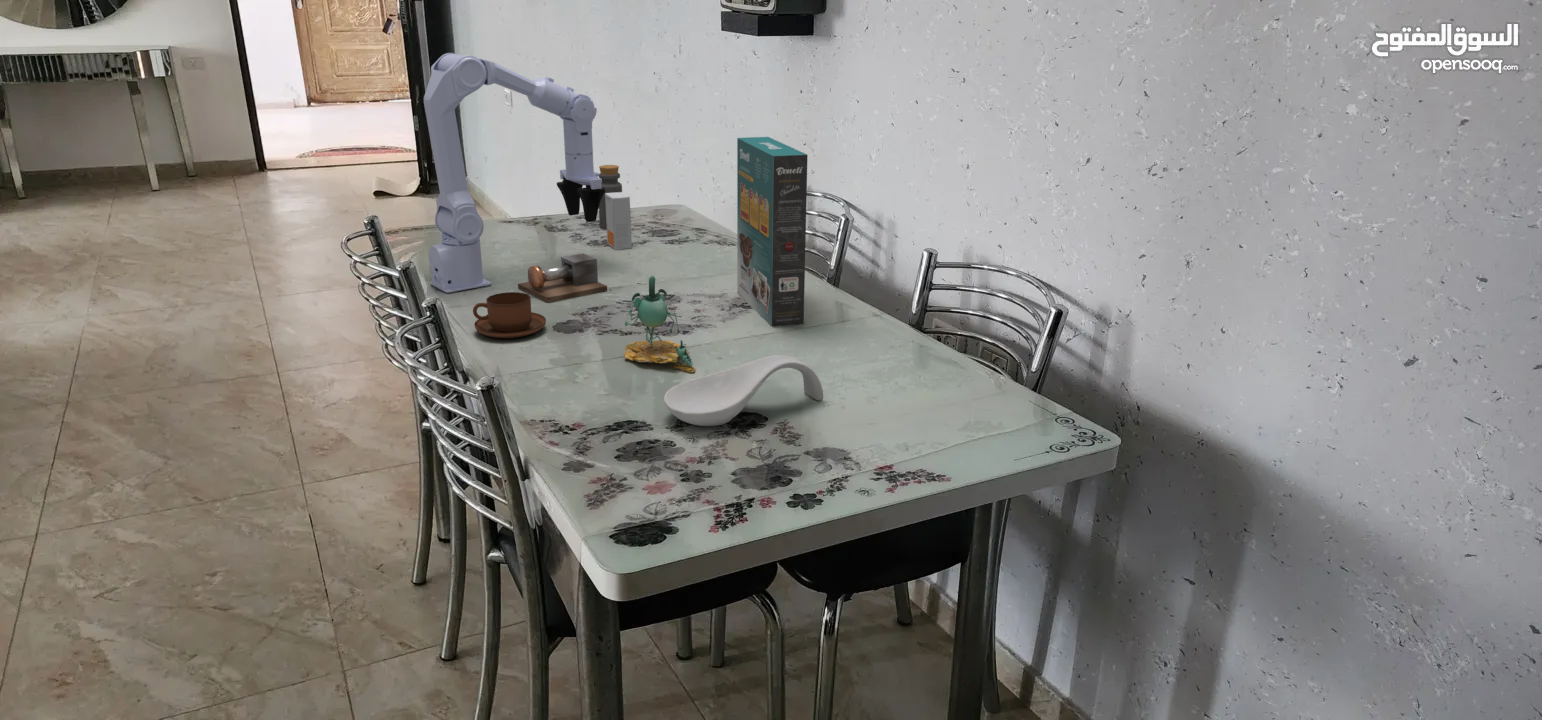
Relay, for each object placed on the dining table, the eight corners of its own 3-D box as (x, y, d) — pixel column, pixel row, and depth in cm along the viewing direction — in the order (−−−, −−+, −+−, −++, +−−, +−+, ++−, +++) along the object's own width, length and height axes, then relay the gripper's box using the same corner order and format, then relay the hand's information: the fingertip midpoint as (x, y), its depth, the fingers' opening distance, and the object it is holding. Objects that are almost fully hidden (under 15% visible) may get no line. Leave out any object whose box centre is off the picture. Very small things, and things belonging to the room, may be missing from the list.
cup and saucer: (479, 347, 168) (476, 311, 166) (471, 325, 178) (468, 292, 176) (552, 339, 172) (550, 304, 170) (540, 318, 183) (537, 285, 180)
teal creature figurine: (652, 383, 154) (643, 287, 150) (608, 359, 169) (599, 272, 165) (709, 371, 158) (701, 278, 154) (661, 349, 173) (653, 264, 169)
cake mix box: (803, 323, 181) (807, 154, 170) (771, 326, 179) (773, 156, 169) (766, 290, 200) (768, 136, 190) (737, 292, 199) (737, 137, 188)
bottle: (621, 229, 248) (619, 168, 243) (597, 229, 248) (594, 168, 243) (625, 224, 253) (622, 164, 248) (602, 224, 253) (599, 164, 248)
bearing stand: (547, 302, 191) (545, 273, 189) (518, 288, 200) (515, 260, 198) (607, 290, 199) (605, 262, 197) (576, 277, 207) (574, 250, 205)
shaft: (539, 291, 193) (537, 268, 192) (528, 286, 197) (527, 264, 195) (581, 283, 199) (580, 261, 198) (570, 278, 202) (569, 256, 201)
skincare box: (606, 244, 234) (604, 192, 230) (624, 242, 236) (622, 191, 232) (614, 250, 229) (612, 197, 225) (632, 248, 231) (630, 196, 226)
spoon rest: (686, 443, 134) (685, 393, 131) (651, 412, 144) (649, 364, 141) (836, 410, 145) (838, 363, 142) (795, 383, 154) (795, 339, 152)
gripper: (613, 156, 206) (616, 221, 211) (579, 147, 217) (582, 209, 222) (582, 159, 202) (585, 226, 207) (549, 149, 213) (553, 213, 218)
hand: (582, 217), depth 214 cm, fingers open, 7 cm apart
